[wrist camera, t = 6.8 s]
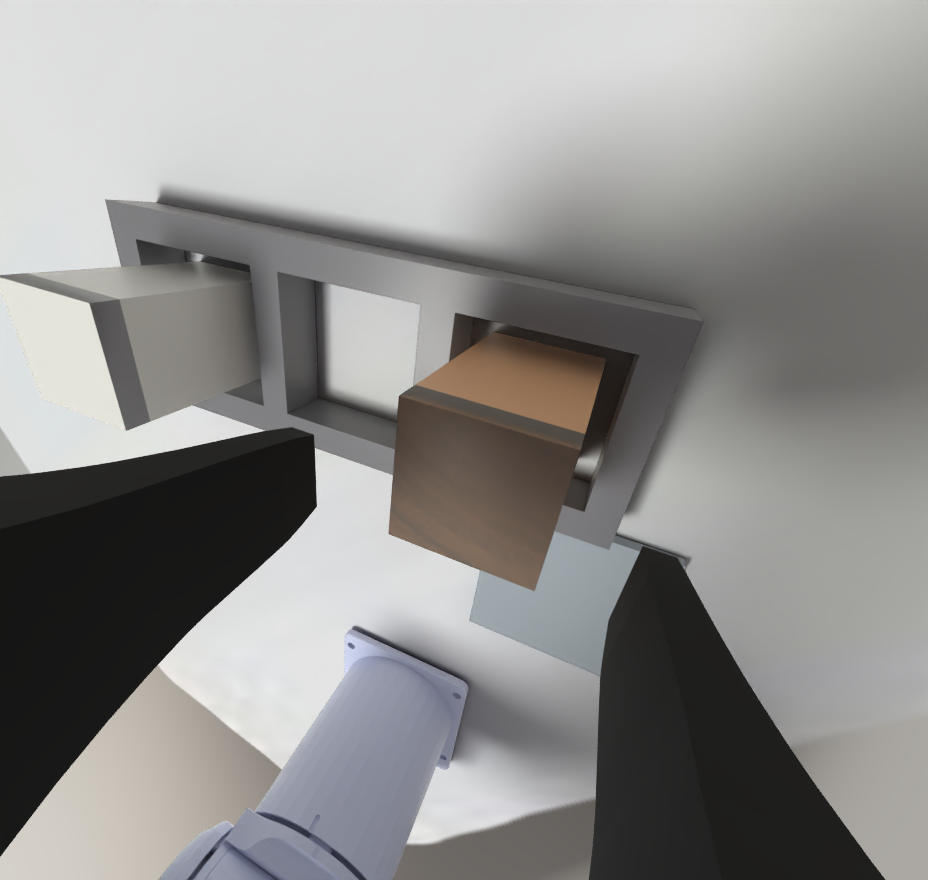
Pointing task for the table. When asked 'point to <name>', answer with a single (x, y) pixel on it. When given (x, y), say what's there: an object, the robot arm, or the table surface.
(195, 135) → the table surface
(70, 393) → the twin plug
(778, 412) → the table surface
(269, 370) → the gray slotted rack
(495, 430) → the plug
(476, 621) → the mat
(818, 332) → the table surface
